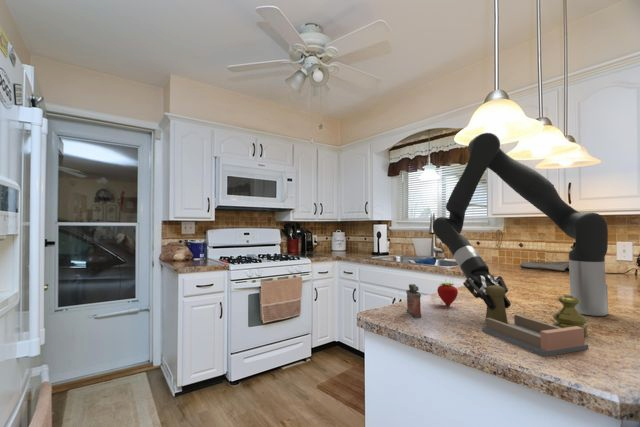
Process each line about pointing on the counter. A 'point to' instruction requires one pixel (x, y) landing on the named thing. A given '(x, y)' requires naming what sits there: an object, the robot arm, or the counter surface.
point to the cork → (497, 304)
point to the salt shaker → (569, 314)
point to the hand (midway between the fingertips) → (501, 307)
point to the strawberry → (447, 293)
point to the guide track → (538, 335)
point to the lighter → (413, 301)
